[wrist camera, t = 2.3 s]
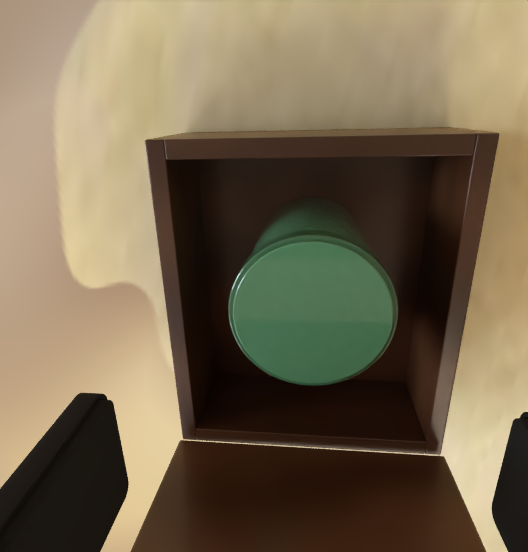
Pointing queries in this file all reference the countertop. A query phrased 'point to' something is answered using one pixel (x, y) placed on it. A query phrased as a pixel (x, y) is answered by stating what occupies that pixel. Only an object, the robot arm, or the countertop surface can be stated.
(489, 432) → the countertop surface
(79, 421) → the robot arm
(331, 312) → the pot
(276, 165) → the bin
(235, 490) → the bin lid
